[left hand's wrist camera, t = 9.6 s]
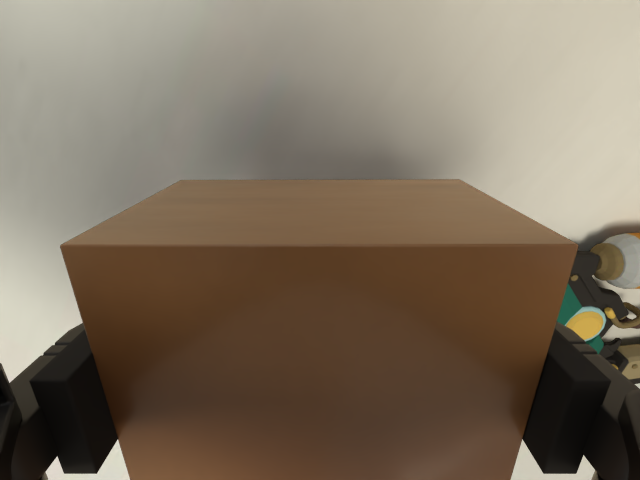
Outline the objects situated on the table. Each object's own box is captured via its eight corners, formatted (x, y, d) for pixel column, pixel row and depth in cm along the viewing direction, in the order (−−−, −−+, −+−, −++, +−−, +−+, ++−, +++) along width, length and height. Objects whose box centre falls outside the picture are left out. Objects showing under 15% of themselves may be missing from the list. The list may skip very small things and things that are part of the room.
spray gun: (684, 348, 32) (520, 394, 35) (687, 188, 26) (485, 258, 28) (734, 385, 28) (545, 433, 31) (752, 207, 22) (511, 287, 24)
